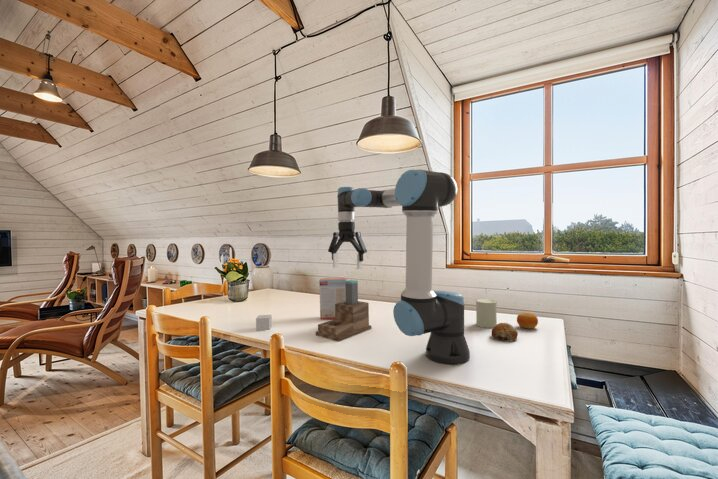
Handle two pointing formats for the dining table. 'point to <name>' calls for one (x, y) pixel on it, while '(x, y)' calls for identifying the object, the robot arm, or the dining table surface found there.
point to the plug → (351, 292)
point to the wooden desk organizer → (346, 321)
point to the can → (486, 313)
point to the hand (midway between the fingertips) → (347, 268)
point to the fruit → (527, 320)
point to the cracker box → (331, 295)
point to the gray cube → (263, 322)
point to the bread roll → (504, 332)
